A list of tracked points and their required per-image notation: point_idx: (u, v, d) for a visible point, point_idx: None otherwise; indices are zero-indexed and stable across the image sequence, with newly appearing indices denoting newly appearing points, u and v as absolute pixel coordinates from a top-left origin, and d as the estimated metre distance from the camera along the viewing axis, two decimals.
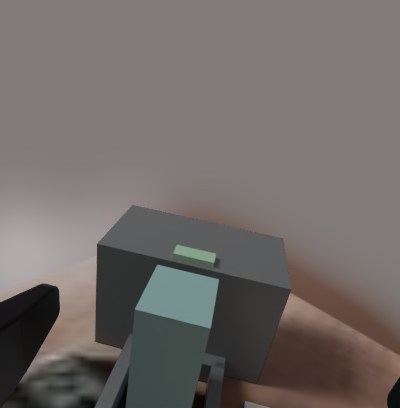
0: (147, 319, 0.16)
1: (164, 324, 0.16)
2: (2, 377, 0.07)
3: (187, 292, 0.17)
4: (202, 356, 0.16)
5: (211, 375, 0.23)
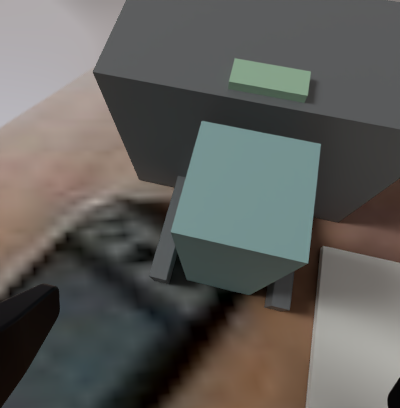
0: (194, 241, 0.09)
1: (224, 248, 0.09)
2: (2, 377, 0.07)
3: (261, 182, 0.09)
4: (286, 273, 0.10)
5: None
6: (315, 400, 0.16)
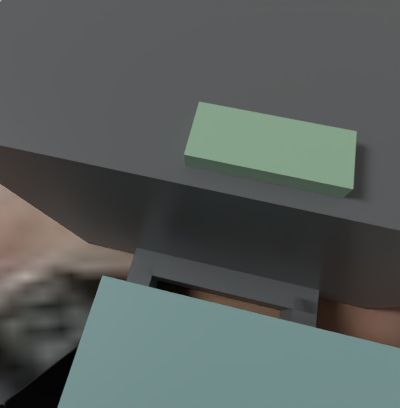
0: None
1: None
2: None
3: None
4: None
5: None
6: None
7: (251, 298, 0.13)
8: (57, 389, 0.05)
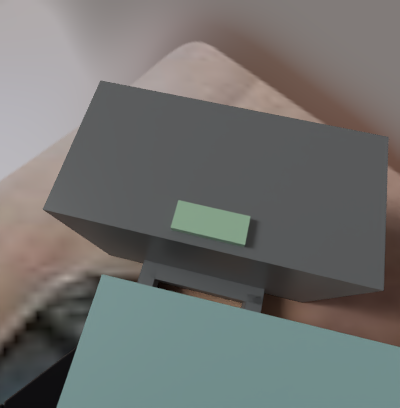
0: None
1: None
2: None
3: None
4: None
5: None
6: None
7: (219, 294, 0.19)
8: (57, 389, 0.05)
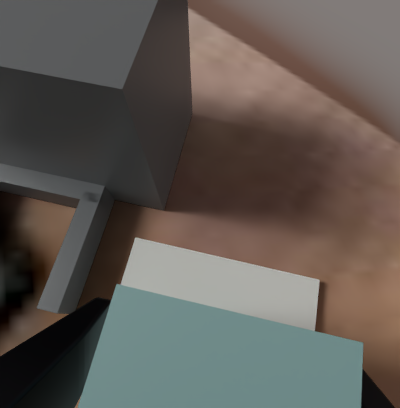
0: None
1: None
2: (67, 396, 0.06)
3: None
4: None
5: (76, 213, 0.16)
6: None
7: (50, 192, 0.16)
8: (7, 375, 0.05)
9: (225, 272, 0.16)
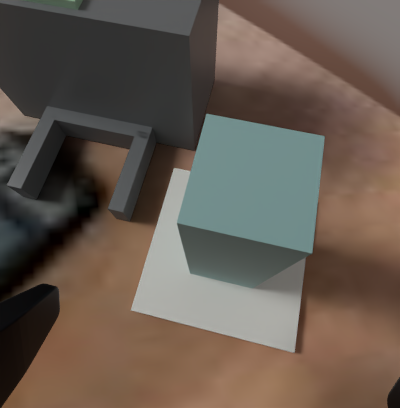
0: (199, 231, 0.09)
1: (229, 239, 0.09)
2: (2, 377, 0.07)
3: (266, 174, 0.10)
4: (289, 264, 0.11)
5: (132, 146, 0.21)
6: (142, 288, 0.19)
7: (111, 131, 0.21)
8: None
9: None
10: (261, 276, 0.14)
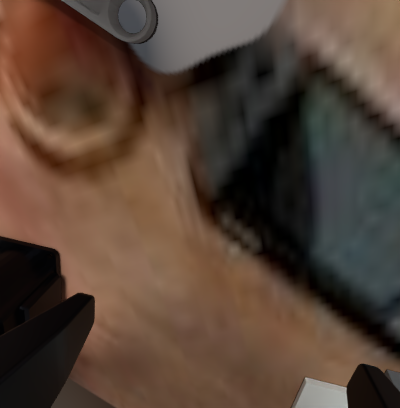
0: None
1: None
2: (45, 389, 0.06)
3: None
4: None
5: None
6: (321, 389, 0.25)
7: None
8: None
9: None
10: None
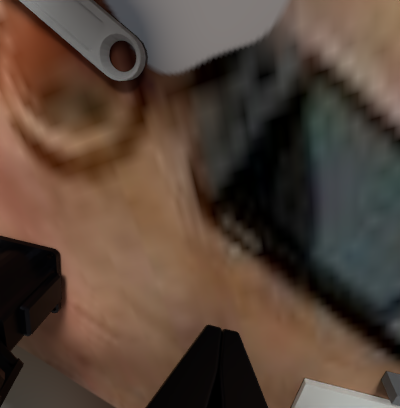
0: None
1: None
2: None
3: None
4: None
5: None
6: (321, 390, 0.25)
7: None
8: None
9: None
10: None
